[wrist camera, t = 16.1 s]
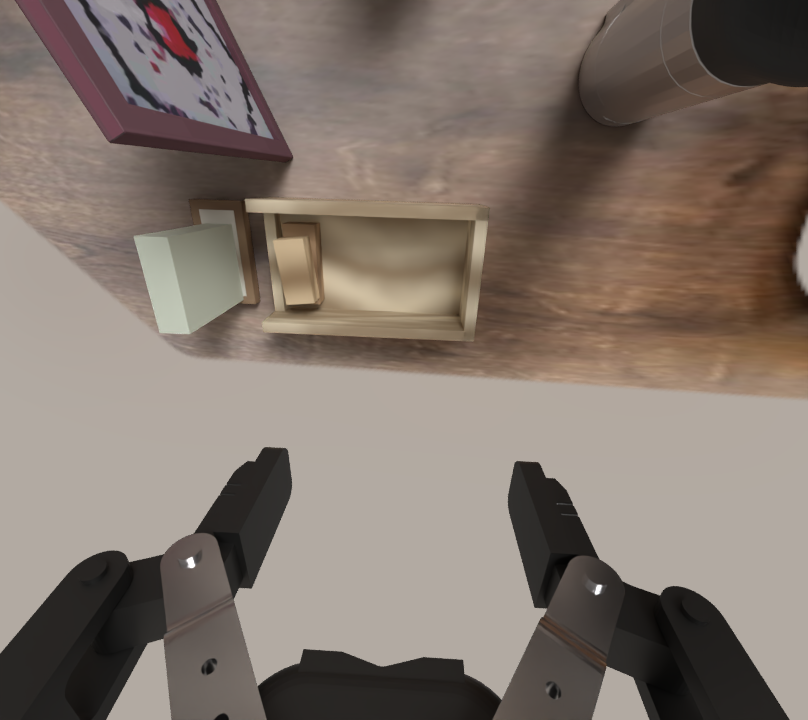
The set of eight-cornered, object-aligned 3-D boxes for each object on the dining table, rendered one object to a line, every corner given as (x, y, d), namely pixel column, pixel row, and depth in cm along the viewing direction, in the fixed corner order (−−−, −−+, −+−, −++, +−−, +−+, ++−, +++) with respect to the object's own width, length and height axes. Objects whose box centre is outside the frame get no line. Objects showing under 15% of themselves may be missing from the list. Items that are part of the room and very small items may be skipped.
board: (196, 199, 43) (188, 199, 42) (246, 200, 43) (240, 201, 42) (215, 298, 49) (208, 302, 47) (260, 300, 48) (255, 304, 47)
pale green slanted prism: (206, 223, 43) (133, 236, 32) (231, 224, 43) (167, 237, 32) (220, 298, 47) (159, 332, 36) (243, 299, 47) (190, 334, 36)
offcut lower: (289, 221, 43) (281, 223, 41) (319, 222, 43) (314, 224, 41) (296, 297, 47) (289, 303, 45) (324, 298, 47) (319, 304, 44)
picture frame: (293, 157, 41) (139, 124, 19) (222, 196, 43) (3, 208, 21) (203, -26, 35) (-194, -411, 12) (124, 29, 37) (-342, -216, 14)
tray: (271, 197, 43) (244, 199, 37) (479, 204, 42) (489, 207, 36) (284, 312, 49) (263, 332, 42) (466, 320, 48) (473, 341, 42)
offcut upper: (280, 237, 41) (272, 240, 39) (309, 235, 41) (302, 238, 39) (293, 298, 44) (286, 304, 42) (319, 297, 44) (314, 303, 42)
